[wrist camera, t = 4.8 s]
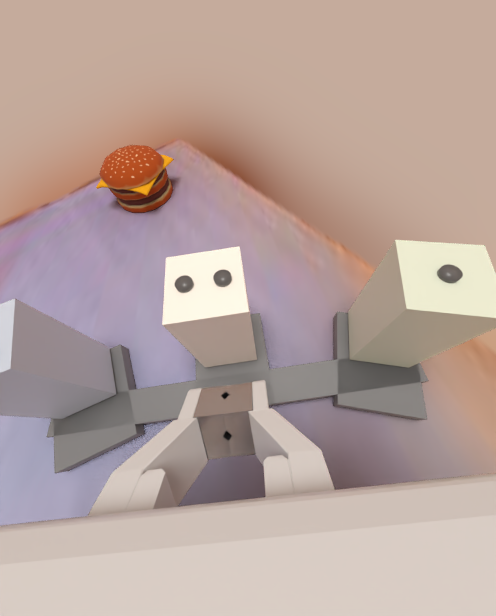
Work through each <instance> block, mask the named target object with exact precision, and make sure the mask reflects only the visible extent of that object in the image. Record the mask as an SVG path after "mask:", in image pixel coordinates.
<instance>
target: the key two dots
mask: <svg viewBox="0 0 496 616" xmlns="http://www.w3.org/2000/svg"><path fill="white" fill-rule="evenodd" d="M162 325H163V326H164V327H165V328H166V329H167V330H168V331H169V332H170V333H171V334H172V335H173V336H174V337H175V338H176V339H177V340H178V341H179V342H180V343H181V344H182V345H183V346H184V347H185V348H186V349H187V350H188V351H189V352H190V353H191V354H192V355H193V356H194V357H195V358H196V359H197V360H198V361H199V362H200V363H201V364H202V365H203V366H204V367H212V366H218V365H225V364H232V363H239V362H245V361H252V360H257V355H256V349H255V342H254V335H253V329H252V322H251V315H250V309H249V303H248V296H247V290H246V284H245V278H244V272H243V265H242V259H241V253H240V247H233V248H226V249H220V250H213V251H207V252H200V253H194V254H187V255H181V256H175V257H168V258H166V269H165V287H164V305H163V323H162Z"/></svg>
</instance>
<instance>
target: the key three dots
mask: <svg viewBox="0 0 496 616" xmlns="http://www.w3.org/2000/svg"><path fill="white" fill-rule="evenodd" d="M114 395H116V387H115V381H114V375H113V368H112V362H111V355H110V349H109V347H107V346H105V345H103V344H101V343H99V342H98V341H96V340H94V339H92V338H90V337H88V336H86V335H84V334H82V333H80V332H78V331H76V330H75V329H73V328H71V327H69V326H67V325H65V324H63V323H61V322H59V321H57V320H55V319H53V318H52V317H50V316H48V315H46V314H44V313H42V312H40V311H38V310H36V309H34V308H32V307H30V306H29V305H27V304H25V303H23V302H21V301H19V300H17V299H13V300H10V301H7V302H5V303H2V304H0V415H2V416H19V417H36V418H53V419H63V418H65V417H68V416H70V415H72V414H74V413H76V412H79V411H81V410H83V409H85V408H87V407H90V406H92V405H94V404H96V403H98V402H101V401H103V400H105V399H107V398H109V397H112V396H114Z"/></svg>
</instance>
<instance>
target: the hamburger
mask: <svg viewBox="0 0 496 616" xmlns="http://www.w3.org/2000/svg"><path fill="white" fill-rule="evenodd" d="M173 160H174V159H172V158H170V157H168V156H166V155H160V154H159V153H157V152H156V151H155V150H153V149H152V148H151V147H148V146H138V145H130V146H127V147H123V148H119V149H117V150H116V151H114V152H113V153H111V154H110V155H109V156H107V157H106V158H105V160H104V163H103V165H102V168H101V171H100V176H101V181H100V182H99V184H98V185H97V187H96V188H97V189H98V188H101V187H108V188H109V189H110V191H111V192H112V193H113V194H114V195H115V196H116V197H117V201H118V203H119V204H120V205H121V206H122V207H123V208H124V209H125V210H127V211H130V212H133V213H137V212H147V211H151V210H154V209H156V208H158V207H160V206H161V205H163V204H165V202H166V201H167V200H168V199H169V198H170V197H171V194H172V191H173V188H172V184H171V181H170V179H169V178H168V175H167V171H166V168H165V167H166V166H167V165H169V164H170V163H171V162H172V161H173Z"/></svg>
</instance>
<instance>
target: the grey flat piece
mask: <svg viewBox="0 0 496 616" xmlns="http://www.w3.org/2000/svg"><path fill="white" fill-rule="evenodd" d="M251 322H252V329H253V335H254V342H255V349H256V355H257V360H252V361H245V362H239V363H232V364H225V365H218V366H212V367H204V366H203V365H202V364H201V363H200V362H199V361H198V360H197V359H196V380H195V381H188V382H181V383H175V384H168V385H161V386H155V387H148V388H141V389H136V386H135V381H134V376H133V371H132V366H131V361H130V356H129V351H128V349H127V348H126V347H124V346H122V345H118V346H116V347H113V348H111V349H110V355H111V362H112V368H113V375H114V381H115V387H116V395H114V396H112V397H109V398H107V399H105V400H103V401H101V402H98V403H96V404H94V405H92V406H90V407H87V408H85V409H83V410H81V411H79V412H76V413H74V414H72V415H70V416H68V417H65V418H63V419H53V418H51V422H50V426H49V430H48V434H47V437H54V466H55V473H59V472H65V471H69V470H71V469H73V468H75V467H77V466H79V465H81V464H83V463H85V462H88V461H90V460H92V459H94V458H96V457H98V456H100V455H102V454H104V453H106V452H108V451H110V450H112V449H114V448H116V447H118V446H121V445H123V444H125V443H127V442H129V441H131V440H133V439H135V438H137V437H139V436H141V435H143V434H145V432H144V427H143V425H144V424H150V423H157V422H164V421H171V420H177V419H178V417H179V414H180V411H181V409H182V406H183V404H184V401H185V398H186V396H187V393H188V391H189V390H190V389H197V388H206V387H215V386H225V385H235V384H242V383H249V382H254V381H260V380H265V382H266V389H267V397H268V404H269V406H273V405H279V404H286V403H293V402H300V401H306V400H313V399H320V398H327V397H334V406H337V407H343V408H349V409H355V410H361V411H366V412H372V413H378V414H384V415H390V416H396V417H402V418H408V419H414V420H423V419H427V414H426V408H425V402H424V396H423V390H422V384H421V383H423V382H427V381H428V379H427V377H426V375H425V373H424V371H423V369H422V366H421V364H420V363H418V364H416V365H414V366H411V367H409V368H407V367H400V366H393V365H386V364H378V363H371V362H364V361H356V360H350V355H349V324H348V313H344V312H337V313H336V315H335V316H334V360H329V361H322V362H316V363H309V364H302V365H296V366H289V367H282V368H275V369H269V364H268V358H267V353H266V347H265V341H264V335H263V329H262V324H261V318H260V313H258V314H251Z"/></svg>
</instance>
